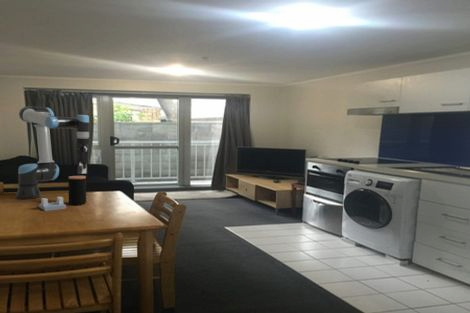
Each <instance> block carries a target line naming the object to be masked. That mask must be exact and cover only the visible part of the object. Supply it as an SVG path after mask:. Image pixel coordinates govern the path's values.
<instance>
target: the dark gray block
mask: <svg viewBox="0 0 470 313" xmlns="http://www.w3.org/2000/svg"><path fill="white" fill-rule="evenodd" d="M77 174H78V175H86V174H88V165H86V173H84V174H82V166H79V165H77Z"/></svg>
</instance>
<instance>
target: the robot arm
mask: <svg viewBox="0 0 470 313" xmlns="http://www.w3.org/2000/svg"><path fill="white" fill-rule="evenodd" d="M18 116H19V119H20V120H21V121H22V122H24V123H33V126H34V127H35V129H36V138H37V141H36V142H37V150H38V161H37V163H26V164H22V165H20V166H18V172H17V174H18V176H17V178H18V189H17V192H16V194H15V199H17V200H33V199H39V198H41V195H42V194H41V192H40V188H39V186H38V185H39V183H38V182H45V181H54V180H56V179H57V178H58V176H59V174H60V167H59V166H58V164H56V162H55V160H54V159H53V153H52V152H53V151H52V143H51V133H50V132H51V131H50V130H51V129H70V130H71V129H72V130H73V129H75V130H76V133H75V134H76V144H77V145H79V146H77V162H78V163H79V164H78V166H82V174H81V175H85V174H84V173H86V166H87V164H88V163H89V161H88V159H89V148H88V147H87V145H89V144H90V139H89V138H90V116H89V115H87V114H77V115H76V117H72V116H71V117H69V116H55V113H54V112H53V110H52V109H51V108H50V107H45V106H30V105H29V106H27V105H26V106H24V107H21V109H20V110H19V112H18Z"/></svg>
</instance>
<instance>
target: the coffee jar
mask: <svg viewBox="0 0 470 313" xmlns="http://www.w3.org/2000/svg"><path fill="white" fill-rule="evenodd" d="M86 178H87V175H71V176H68V204H69V205H70V206H83V205H86V203H87V179H86Z"/></svg>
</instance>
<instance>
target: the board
mask: <svg viewBox="0 0 470 313" xmlns="http://www.w3.org/2000/svg"><path fill="white" fill-rule="evenodd" d="M40 199H41V203H39V204H38V208H40V209H41V210H43V211H45V212H46V211H57V210H58V211H59V210H64V209H67V205H66V204H65V203H64V197H63V196H56V201H54V202H49V199H48V198H47V197H45V198H44V197H43V198H41V197H40Z"/></svg>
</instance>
